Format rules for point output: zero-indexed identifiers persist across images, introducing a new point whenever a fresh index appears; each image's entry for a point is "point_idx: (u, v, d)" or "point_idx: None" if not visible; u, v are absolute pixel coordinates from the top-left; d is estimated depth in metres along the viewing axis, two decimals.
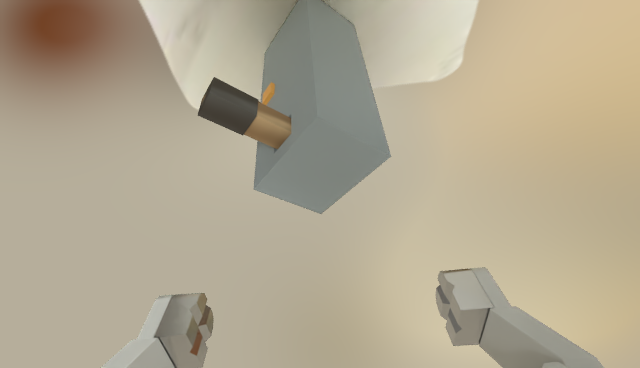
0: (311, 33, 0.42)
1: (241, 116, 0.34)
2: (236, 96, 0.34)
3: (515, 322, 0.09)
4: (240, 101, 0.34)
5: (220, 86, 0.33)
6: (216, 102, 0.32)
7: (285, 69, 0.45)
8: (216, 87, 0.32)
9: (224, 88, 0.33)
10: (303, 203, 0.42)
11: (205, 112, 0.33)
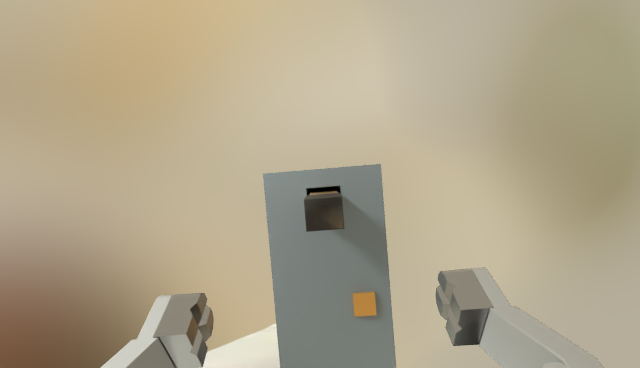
0: (276, 321, 0.37)
1: (315, 195, 0.31)
2: None
3: (515, 322, 0.09)
4: None
5: None
6: (312, 198, 0.28)
7: (328, 313, 0.37)
8: (305, 214, 0.28)
9: None
10: None
11: (332, 196, 0.28)
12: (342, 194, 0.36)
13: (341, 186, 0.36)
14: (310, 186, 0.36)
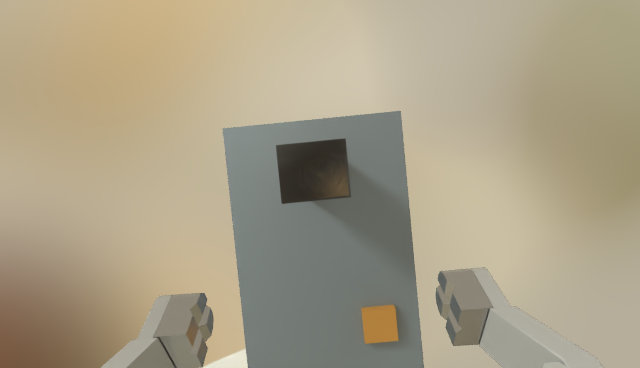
0: (247, 352, 0.25)
1: None
2: None
3: (515, 322, 0.09)
4: None
5: None
6: None
7: (324, 339, 0.24)
8: None
9: None
10: None
11: None
12: None
13: None
14: None
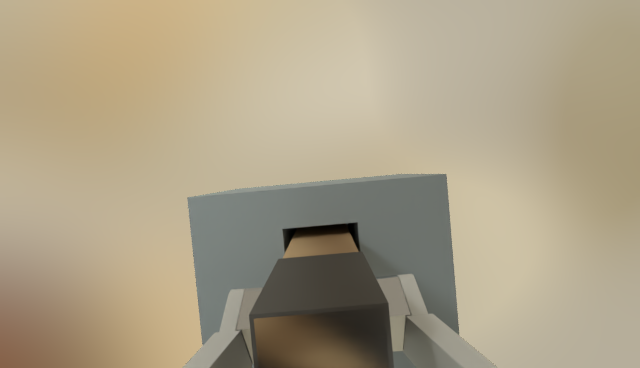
0: None
1: (299, 266, 0.11)
2: None
3: (427, 330, 0.09)
4: None
5: None
6: (284, 296, 0.08)
7: None
8: None
9: None
10: None
11: (352, 296, 0.08)
12: (362, 241, 0.16)
13: (360, 224, 0.16)
14: (292, 224, 0.17)
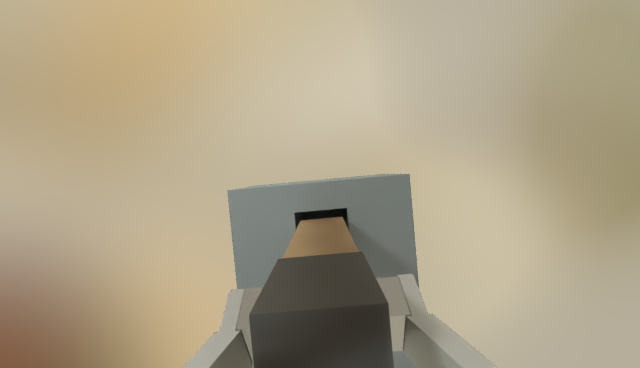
0: None
1: (299, 266, 0.11)
2: None
3: (427, 330, 0.09)
4: None
5: None
6: (284, 296, 0.08)
7: None
8: None
9: None
10: None
11: (352, 296, 0.08)
12: (350, 221, 0.23)
13: (349, 209, 0.23)
14: (301, 209, 0.23)
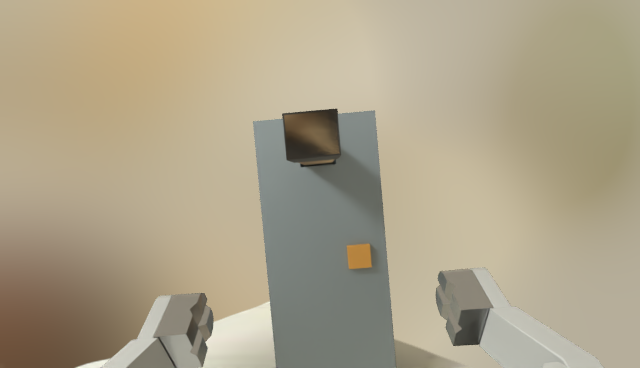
0: (268, 276, 0.36)
1: None
2: None
3: (515, 322, 0.09)
4: None
5: None
6: None
7: (321, 266, 0.35)
8: None
9: None
10: None
11: None
12: None
13: None
14: None
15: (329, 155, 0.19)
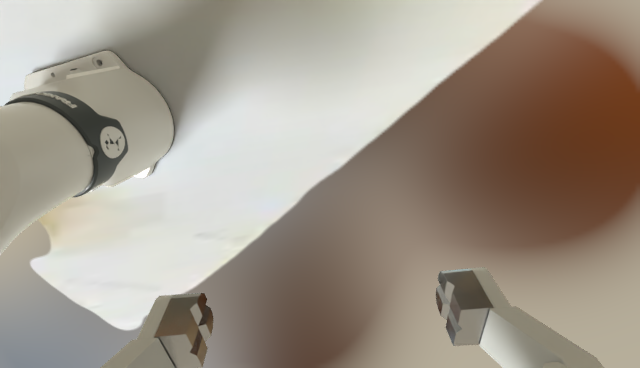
0: None
1: None
2: None
3: (515, 322, 0.09)
4: None
5: None
6: None
7: None
8: None
9: None
10: None
11: None
12: None
13: None
14: None
15: None
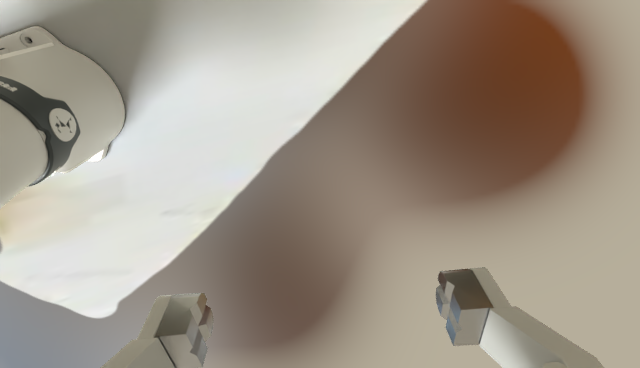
0: None
1: None
2: None
3: (515, 322, 0.09)
4: None
5: None
6: None
7: None
8: None
9: None
10: None
11: None
12: None
13: None
14: None
15: None
